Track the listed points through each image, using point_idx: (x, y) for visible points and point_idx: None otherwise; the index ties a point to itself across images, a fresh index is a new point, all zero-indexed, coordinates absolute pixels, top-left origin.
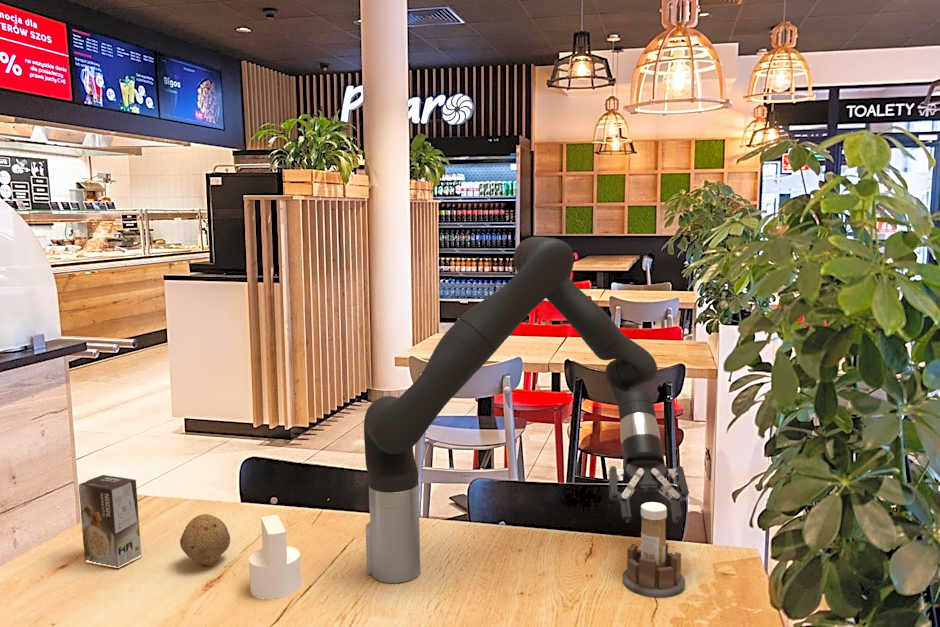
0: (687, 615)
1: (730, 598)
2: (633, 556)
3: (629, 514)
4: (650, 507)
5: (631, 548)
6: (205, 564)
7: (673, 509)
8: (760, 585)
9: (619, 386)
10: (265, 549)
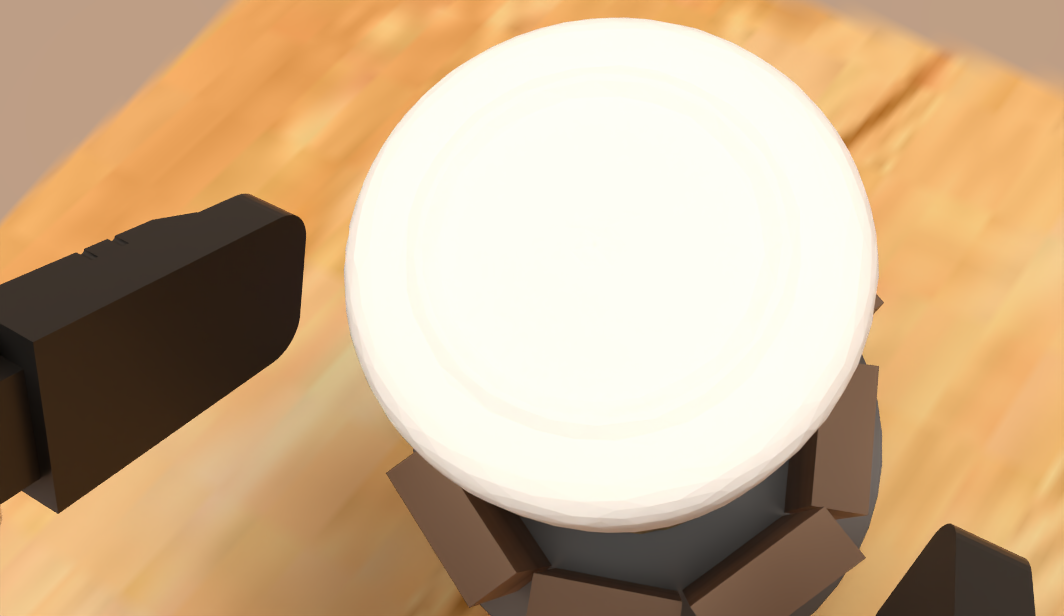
0: (714, 16)
1: (355, 78)
2: (788, 526)
3: (992, 574)
4: (723, 191)
5: (809, 554)
6: None
7: (191, 291)
8: (97, 131)
9: None
10: None
